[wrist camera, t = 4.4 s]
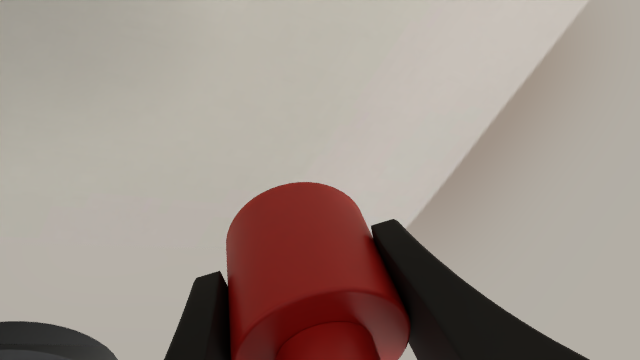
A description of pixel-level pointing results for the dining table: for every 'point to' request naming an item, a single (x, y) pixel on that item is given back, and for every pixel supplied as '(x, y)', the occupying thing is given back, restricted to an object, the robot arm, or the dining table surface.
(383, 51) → the dining table surface
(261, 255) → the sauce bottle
